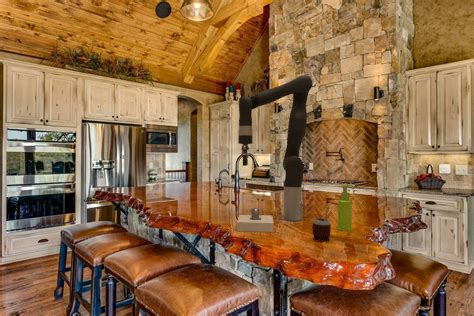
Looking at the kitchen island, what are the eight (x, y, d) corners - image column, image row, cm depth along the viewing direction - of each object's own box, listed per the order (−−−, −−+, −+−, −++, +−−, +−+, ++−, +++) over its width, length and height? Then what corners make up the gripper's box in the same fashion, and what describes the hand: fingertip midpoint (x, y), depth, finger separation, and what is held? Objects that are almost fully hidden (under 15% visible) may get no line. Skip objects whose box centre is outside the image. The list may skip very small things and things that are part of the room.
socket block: (272, 223, 144) (272, 215, 144) (273, 232, 128) (273, 223, 128) (239, 222, 146) (239, 214, 146) (236, 231, 130) (236, 222, 130)
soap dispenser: (352, 232, 129) (352, 186, 129) (336, 229, 133) (336, 185, 133) (355, 229, 134) (355, 185, 134) (339, 227, 138) (339, 184, 138)
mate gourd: (311, 241, 115) (311, 202, 115) (313, 235, 123) (313, 200, 123) (331, 243, 113) (331, 204, 113) (332, 237, 120) (332, 201, 120)
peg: (259, 226, 138) (259, 208, 138) (259, 228, 135) (259, 209, 135) (251, 226, 139) (251, 208, 139) (251, 228, 135) (251, 209, 135)
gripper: (252, 134, 149) (251, 166, 149) (252, 135, 163) (252, 165, 163) (237, 134, 149) (237, 166, 149) (239, 135, 163) (239, 165, 164)
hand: (245, 165), depth 156 cm, fingers open, 8 cm apart
